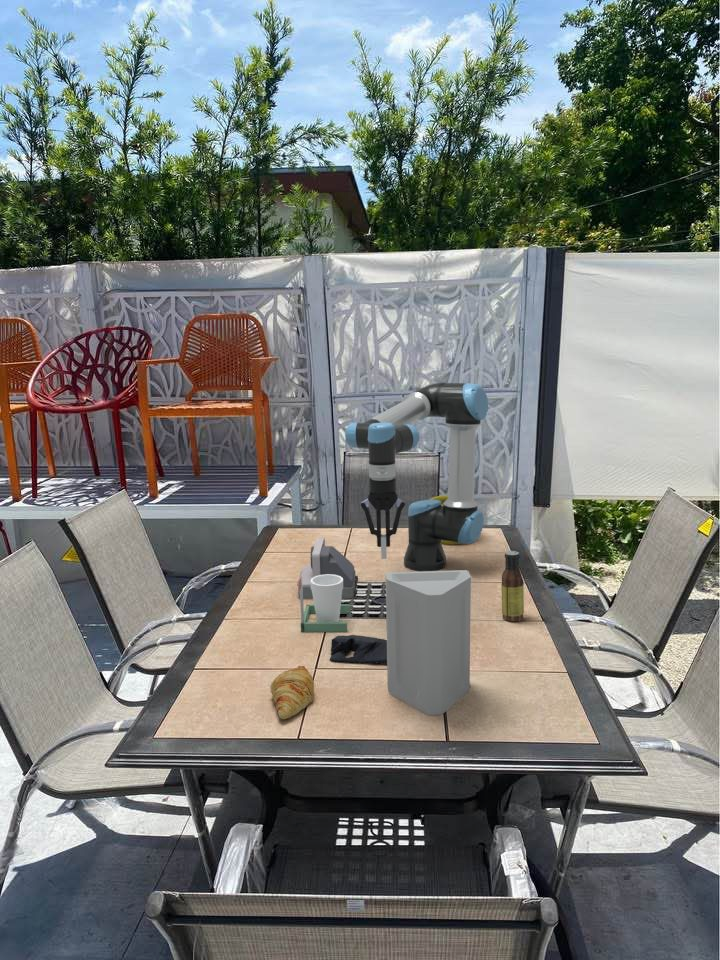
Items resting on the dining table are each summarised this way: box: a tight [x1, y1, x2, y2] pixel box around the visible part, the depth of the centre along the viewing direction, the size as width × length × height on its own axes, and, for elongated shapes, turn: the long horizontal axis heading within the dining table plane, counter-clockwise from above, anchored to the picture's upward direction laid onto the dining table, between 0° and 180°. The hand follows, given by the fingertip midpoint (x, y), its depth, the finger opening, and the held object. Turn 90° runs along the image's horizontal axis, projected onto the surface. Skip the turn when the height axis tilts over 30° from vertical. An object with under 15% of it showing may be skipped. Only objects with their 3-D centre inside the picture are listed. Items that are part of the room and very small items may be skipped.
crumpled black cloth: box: [329, 634, 387, 665], centre depth 184 cm, size 15×22×5 cm
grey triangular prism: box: [385, 569, 472, 716], centre depth 159 cm, size 19×15×28 cm
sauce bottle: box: [501, 550, 525, 623], centre depth 202 cm, size 6×6×20 cm
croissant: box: [270, 665, 315, 720], centre depth 162 cm, size 21×10×8 cm, turn 175°
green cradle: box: [297, 574, 351, 633], centre depth 201 cm, size 13×18×16 cm
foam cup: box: [310, 574, 343, 622], centre depth 203 cm, size 10×9×13 cm
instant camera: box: [296, 536, 359, 600], centre depth 230 cm, size 21×21×15 cm
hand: (383, 557), depth 204 cm, fingers closed
